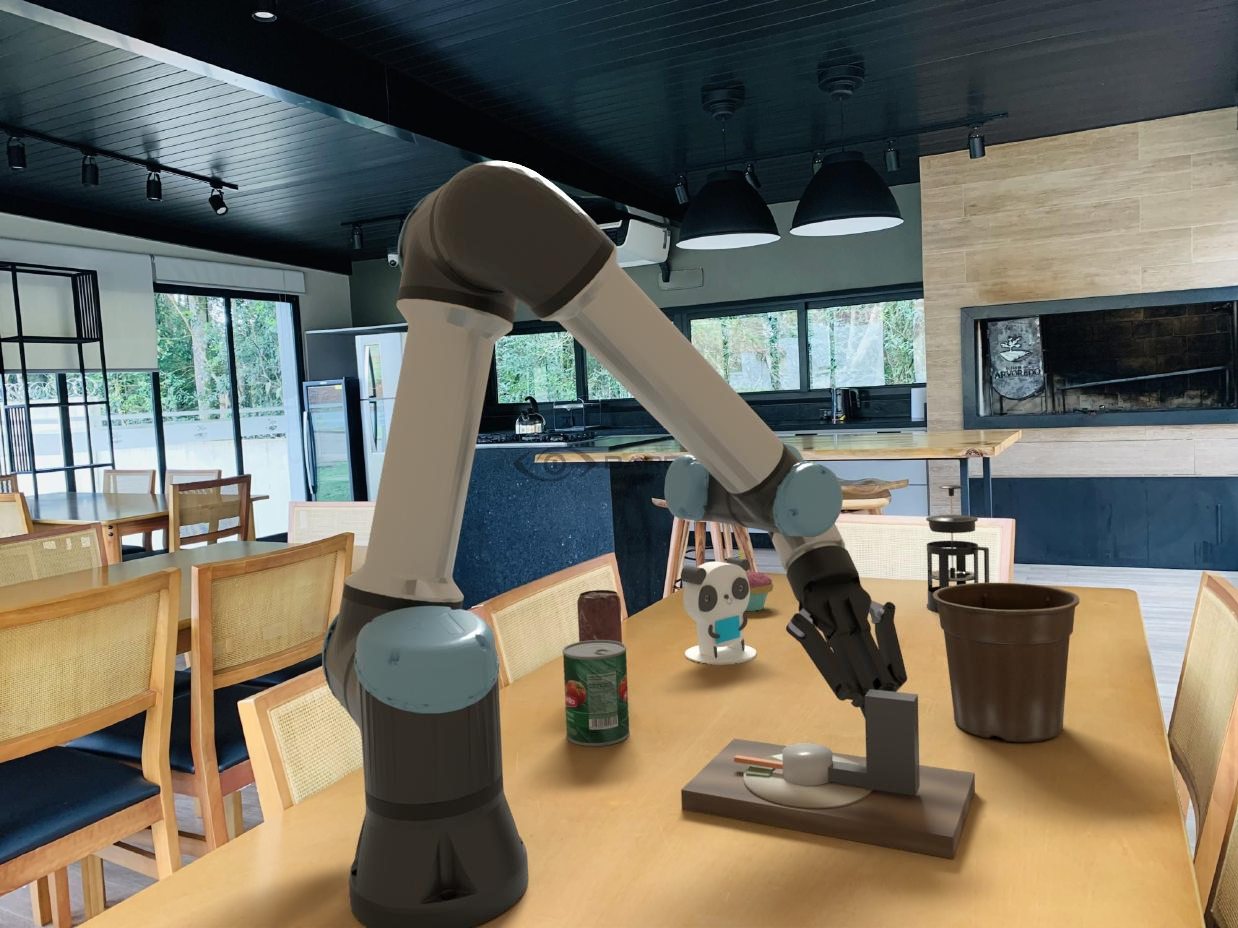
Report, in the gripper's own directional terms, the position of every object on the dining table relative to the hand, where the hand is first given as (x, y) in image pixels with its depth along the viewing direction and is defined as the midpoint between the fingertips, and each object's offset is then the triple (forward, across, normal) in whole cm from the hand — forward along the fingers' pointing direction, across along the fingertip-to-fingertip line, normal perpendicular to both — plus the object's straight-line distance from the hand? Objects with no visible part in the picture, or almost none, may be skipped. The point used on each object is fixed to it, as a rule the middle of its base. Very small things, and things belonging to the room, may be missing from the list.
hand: (903, 757), depth 92 cm
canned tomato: (-18, +23, -26) cm, 39 cm away
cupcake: (-53, -24, -64) cm, 87 cm away
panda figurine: (-35, -5, -45) cm, 57 cm away
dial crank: (-1, +7, -4) cm, 8 cm away
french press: (-41, -57, -51) cm, 87 cm away
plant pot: (-5, -24, -13) cm, 28 cm away
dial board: (+1, +6, -6) cm, 9 cm away
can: (-29, +17, -38) cm, 51 cm away
